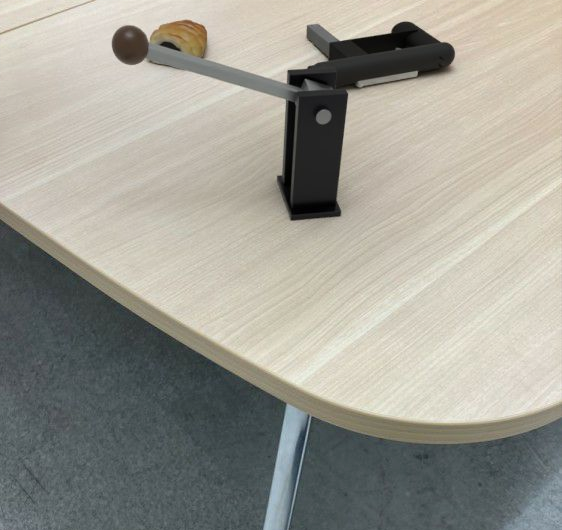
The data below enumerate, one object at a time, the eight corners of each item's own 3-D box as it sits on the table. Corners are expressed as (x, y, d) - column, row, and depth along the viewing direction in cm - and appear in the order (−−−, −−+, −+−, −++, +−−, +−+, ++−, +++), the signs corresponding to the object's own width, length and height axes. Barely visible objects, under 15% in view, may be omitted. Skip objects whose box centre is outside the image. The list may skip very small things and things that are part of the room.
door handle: (265, 24, 101) (320, 73, 91) (400, 5, 107) (466, 48, 97) (265, 50, 103) (318, 101, 93) (397, 30, 110) (461, 75, 99)
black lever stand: (290, 226, 76) (298, 102, 67) (276, 185, 81) (281, 64, 71) (340, 221, 77) (355, 99, 68) (323, 181, 82) (334, 61, 72)
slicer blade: (108, 65, 63) (117, 30, 61) (106, 49, 65) (115, 14, 63) (326, 127, 71) (340, 97, 69) (319, 110, 73) (332, 81, 71)
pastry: (171, 32, 104) (170, 2, 101) (219, 41, 103) (219, 11, 100) (143, 63, 98) (140, 32, 95) (194, 72, 97) (193, 42, 94)
